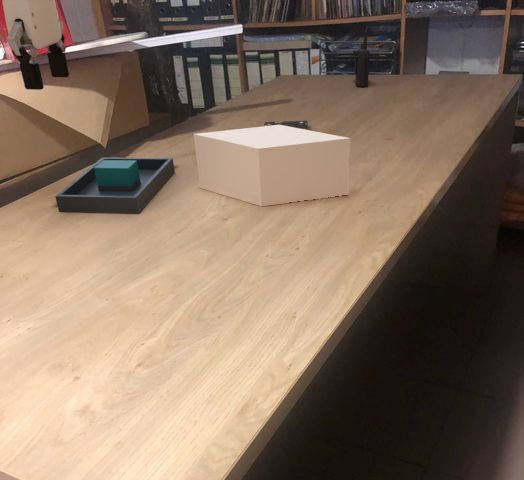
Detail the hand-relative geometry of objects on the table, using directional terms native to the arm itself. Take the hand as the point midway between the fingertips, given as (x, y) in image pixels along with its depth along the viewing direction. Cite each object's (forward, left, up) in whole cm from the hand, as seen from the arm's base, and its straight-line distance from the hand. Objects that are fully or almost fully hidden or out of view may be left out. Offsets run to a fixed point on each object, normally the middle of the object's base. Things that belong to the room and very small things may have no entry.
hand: (48, 82), depth 105 cm
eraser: (+9, +2, -20) cm, 21 cm away
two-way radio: (+51, +89, -21) cm, 104 cm away
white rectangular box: (+39, +3, -21) cm, 44 cm away
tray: (+9, +2, -20) cm, 22 cm away
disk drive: (+37, +34, -21) cm, 54 cm away
